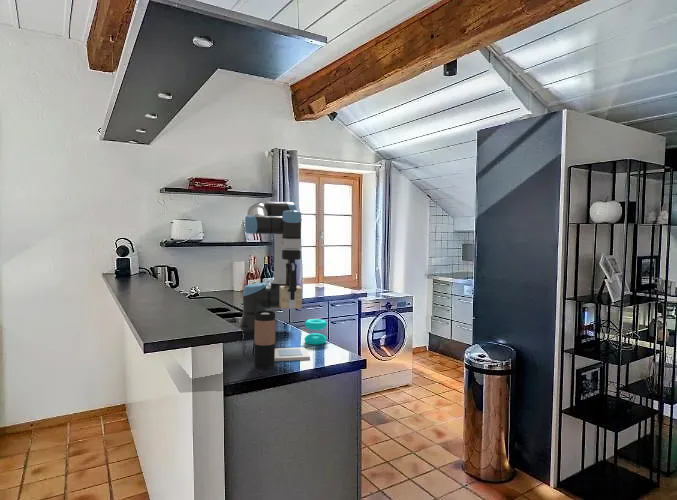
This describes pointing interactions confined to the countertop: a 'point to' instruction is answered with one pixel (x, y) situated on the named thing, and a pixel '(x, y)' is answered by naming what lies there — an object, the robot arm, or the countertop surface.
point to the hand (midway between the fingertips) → (290, 305)
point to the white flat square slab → (291, 354)
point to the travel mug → (264, 339)
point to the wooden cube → (285, 297)
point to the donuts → (315, 337)
